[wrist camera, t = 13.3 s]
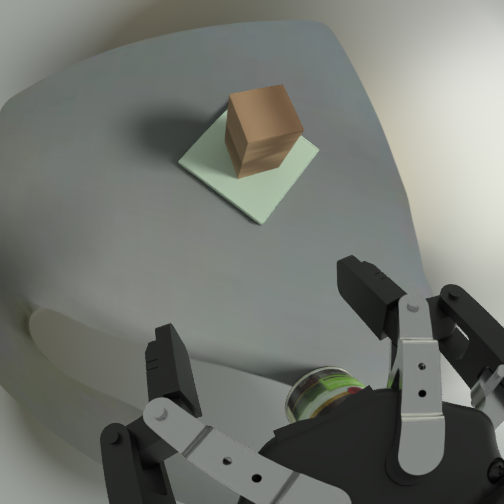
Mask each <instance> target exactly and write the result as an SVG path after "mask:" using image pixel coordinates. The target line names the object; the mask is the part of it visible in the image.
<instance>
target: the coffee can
mask: <svg viewBox="0 0 504 504" xmlns="http://www.w3.org/2000/svg"><path fill="white" fill-rule="evenodd" d="M363 388H365V386H364V385H363V384H361V383H360V382H359V381H358V380H357V379H355V378H354V377H353V376H352V375H351V374H350V373H349V372H347V371H345V370H343V369H341V368H337V367H324V368H319V369H316V370H314V371H311V372H309V373H308V374H306V375H304V376H303V377H302V378H300V379H299V380H298V381H297V382H296V383H295V384H294V386H293V387H292V388H291V390H290V392H289V394H288V396H287V399H286V402H285V412H286V416H287V419H288V420H289V422H290V423H291V424H292V423H294V422H296V421H299V420H304V419H309V418H314V417H319V416H323V415H326V414H328V413H330V412H331V411H332V410H333V409H334V408H336V407H337V406H338V405H339V404H340V403H341V402H343V401H344V400H345V399H346V398H347V397H349V396H351V395H353V394H354V393H356V392H358V391H360V390H362V389H363Z"/></svg>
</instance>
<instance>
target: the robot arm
mask: <svg viewBox="0 0 504 504" xmlns="http://www.w3.org/2000/svg"><path fill="white" fill-rule="evenodd" d="M337 286H338V290H339V293H340V295H341V296H342V297H343V299H344V300H345V301H346V302H347V303H348V304H349V305H350V306H351V308H352V309H353V310H354V311H355V312H356V313H357V314H358V315H359V317H360V318H361V319H362V320H363V321H364V322H365V323H366V325H367V326H368V327H369V328H370V329H371V330H372V332H373V333H374V334H375V335H376V336H377V337H378V338H379V340H380V341H381V340H382V339H384V338H386V337H389V338H390V339H391V341H390V359H389V377H388V382H387V388H384V389H376V390H373V389H372V388H371V387H370V385H369V386H367V387H365V388H363V389H362V390H360V391H358V392H356V393H354V394H353V395H351V396H349V397H347V398H346V399H345V400H344V401H343V402H341V403H340V404H339V405H338V406H337V407H336V408H334V409H333V410H332V411H331V412H330V413H328V414H326V415H323V416H319V417H314V418H309V419H304V420H299V421H296V422H294V423H292V424H289V425H287V426H285V427H282V428H279V429H277V430H274V434H275V437H274V438H272V439H271V440H270V441H268V442H267V443H266V444H265V445H264V446H263V447H262V448H261V450H260V451H259V452H258V453H256V452H254V451H252V450H250V449H248V448H247V447H245V446H243V445H241V444H240V443H238V442H236V441H235V440H233V439H231V438H229V437H228V436H226V435H224V434H223V433H221V432H220V431H218V430H216V429H215V428H213V427H211V426H207V425H205V424H204V423H202V422H200V421H199V420H198V419H196V418H198V417H201V416H202V412H201V408H200V404H199V400H198V396H197V392H196V388H195V384H194V379H193V374H192V370H191V365H190V361H189V356H188V353H187V350H186V348H185V345H184V344H183V342H182V340H181V339H180V337H179V335H178V333H177V332H176V330H175V328H174V326H173V325H172V324H171V323H170V324H167V325H164V326H161V327H158V328H156V329H155V335H156V341H152V342H149V344H148V346H147V349H146V352H145V359H146V370H147V372H146V373H147V386H148V397H149V403H148V404H147V405H146V407H145V409H144V411H143V415H142V416H141V417H140V418H138V419H137V420H135V421H134V422H132V423H130V424H128V425H127V426H124V425H122V424H120V423H112V424H110V425H108V426H107V427H105V428H104V430H103V431H102V433H101V437H100V443H101V453H102V461H103V469H104V476H105V481H106V488H107V493H108V498H109V503H110V504H176V501H175V498H174V495H173V492H172V489H171V485H170V482H169V479H168V475H167V471H166V468H165V464H164V460H165V459H167V458H169V457H171V456H172V455H174V454H176V453H177V452H180V453H181V454H182V455H183V456H184V457H185V458H186V459H188V460H189V461H190V462H192V463H193V464H194V465H196V466H197V467H199V468H200V469H201V470H203V471H204V472H206V473H207V474H209V475H210V476H211V477H213V478H214V479H216V480H217V481H219V482H221V483H222V484H224V485H225V486H227V487H228V488H230V489H232V490H233V491H235V492H237V493H238V494H240V495H241V496H240V498H239V501H238V503H237V504H504V460H503V458H502V457H501V455H500V453H499V450H498V446H497V442H496V436H495V429H496V428H497V427H498V426H499V425H500V424H501V423H502V422H503V421H504V328H503V327H502V326H501V325H500V324H499V323H498V322H497V321H496V320H495V319H494V318H493V317H492V316H491V315H490V314H489V313H488V312H487V311H486V310H485V309H484V308H483V307H482V306H481V305H480V304H479V303H478V302H477V301H476V300H475V299H473V298H472V297H471V296H470V295H469V294H468V293H467V292H466V291H465V290H464V289H462V288H461V287H460V286H457V285H453V284H449V285H445V286H444V287H443V288H442V289H441V292H440V295H439V296H435V297H431V298H427V299H425V298H424V297H422V296H420V295H418V294H407V293H406V292H405V291H403V290H402V289H401V288H400V287H399V286H398V285H397V284H396V283H394V282H393V281H392V280H391V279H390V278H389V277H387V276H386V275H385V274H384V273H383V272H381V270H379V269H378V268H377V267H376V266H375V265H373V264H371V263H368V262H366V261H363V262H360V261H359V260H358V259H357V258H356V257H355V256H353V255H350V256H348V257H345V258H343V259H341V260H338V261H337ZM456 325H458V326H459V327H460V328H461V329H462V331H463V332H464V333H465V334H466V335H467V336H468V338H469V340H468V339H467V338H466V337H465V336H464V335H463V334H462V333H461V332H460V331H459V329H458V328H457V327H456ZM439 351H440V352H441V353H442V354H443V355H444V356H445V358H446V359H447V360H448V361H449V363H450V364H451V365H452V366H453V368H454V369H455V370H456V371H457V373H458V374H459V375H460V376H461V377H462V379H463V380H464V381H465V383H466V384H467V385H468V387H469V388H470V389H471V399H472V401H471V405H472V406H473V407H474V408H471V407H466V406H461V405H457V404H452V403H448V402H444V401H442V385H441V368H440V356H439Z"/></svg>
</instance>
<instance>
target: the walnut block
mask: <svg viewBox="0 0 504 504" xmlns="http://www.w3.org/2000/svg"><path fill="white" fill-rule="evenodd" d="M303 131H304V129H303V126H302V124H301V122H300V120H299V118H298V115H297V113H296V111H295V109H294V107H293V105H292V102H291V100H290V98H289V96H288V94H287V92H286V90H285V88H284V86H283V85H277V86H270V87H265V88H259V89H254V90H249V91H244V92H239V93H234V94H230V95H229V101H228V110H227V120H226V130H225V140H224V141H225V144H226V147H227V150H228V153H229V155H230V158H231V161H232V164H233V167H234V170H235V172H236V175H237V178H238V179H240V178H243V177H247V176H250V175H254V174H257V173H261V172H264V171H268V170H272V169H275V168H279V167H280V165H281V164H282V162H283V161H284V159H285V158H286V156H287V155H288V153H289V152H290V150H291V149H292V147H293V146H294V144H295V143H296V141H297V140H298V138H299V137H300V135H301V134H302V132H303Z"/></svg>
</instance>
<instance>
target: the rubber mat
mask: <svg viewBox="0 0 504 504" xmlns="http://www.w3.org/2000/svg"><path fill="white" fill-rule="evenodd" d="M227 110H228V109H227ZM227 110H226V111H225V112H224V113H223V114H222V115H221V116H220V117H219V118H218V119H217V120H216V121H215V122H214V123H213V124H212V125H211V126H210V127H209V128H208V130H207V131H206V132H205V133H204V134H203V135H202V136H201V137H200V138H199V139H198V140H197V141H196V142H195V143H194V145H193V146H192V147H191V148H190V149H189V150H188V151H187V152H186V153H185V155H184V156H183V157H182V158H181V159H180V160H179V161H178V162H179V165H181V166H182V167H184V168H185V169H186V170H188V171H189V172H190V173H192V174H193V175H194V176H196V177H197V178H199V179H200V180H201V181H203V182H204V183H205V184H207V185H208V186H209V187H211V188H212V189H213V190H215V191H216V192H217V193H219V194H220V195H221V196H223V197H224V198H225V199H227V200H228V201H229V202H231V203H232V204H233V205H235V206H236V207H237V208H238V209H240V210H241V211H242V212H244V213H245V214H246V215H248V216H249V217H250V218H252V219H253V220H254V221H255V222H257V223H258V224H259V225H262V224H263V223H264V222H265V220H266V219H267V218H268V216H269V215H270V214H271V212H272V211H273V210H274V209H275V207H276V206H277V205H278V203H279V202H280V201H281V199H282V198H283V197H284V195H285V194H286V193H287V191H288V190H289V189H290V188H291V186H292V185H293V184H294V182H295V181H296V180H297V178H298V177H299V176H300V175H301V173H302V172H303V171H304V169H305V168H306V167H307V165H308V164H309V163H310V161H311V160H312V159H313V158H314V156H315V155H316V154H317V152H318V151H319V149H318V148H317V147H315V146H314V145H313V144H311V143H310V142H309V141H308V140H306V139H305V138H304V137H302V136H301V135H300V137H299V138H298V140H297V141H296V143H295V144H294V146H293V147H292V149H291V150H290V152H289V153H288V155H287V156H286V158H285V159H284V161H283V162H282V164H281V165H280V167H279V168H275V169H272V170H268V171H264V172H261V173H257V174H254V175H250V176H247V177H243V178H240V179H238V178H237V175H236V172H235V170H234V167H233V164H232V161H231V158H230V155H229V153H228V150H227V147H226V144H225V141H224V140H225V130H226V120H227Z"/></svg>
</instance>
